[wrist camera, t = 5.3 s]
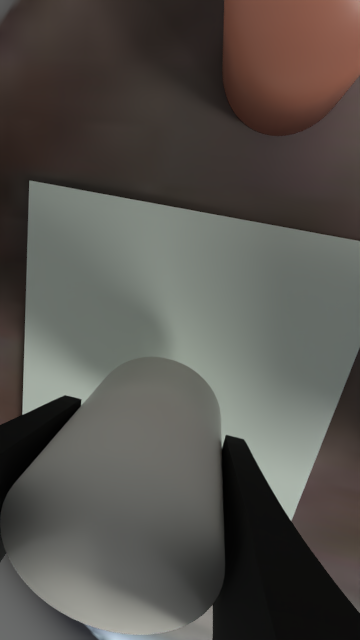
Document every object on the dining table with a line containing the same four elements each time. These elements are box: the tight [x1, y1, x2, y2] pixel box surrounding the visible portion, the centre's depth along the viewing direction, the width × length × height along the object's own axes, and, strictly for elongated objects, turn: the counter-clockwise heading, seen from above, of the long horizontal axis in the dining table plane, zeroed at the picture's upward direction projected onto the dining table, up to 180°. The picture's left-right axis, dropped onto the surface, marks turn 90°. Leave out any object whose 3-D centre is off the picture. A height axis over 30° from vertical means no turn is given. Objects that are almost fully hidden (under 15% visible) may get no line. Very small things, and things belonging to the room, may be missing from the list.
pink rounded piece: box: [222, 0, 360, 136], centre depth 8 cm, size 5×5×5 cm
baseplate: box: [22, 180, 360, 520], centre depth 14 cm, size 16×16×1 cm
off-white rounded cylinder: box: [0, 357, 225, 635], centre depth 8 cm, size 5×5×5 cm
